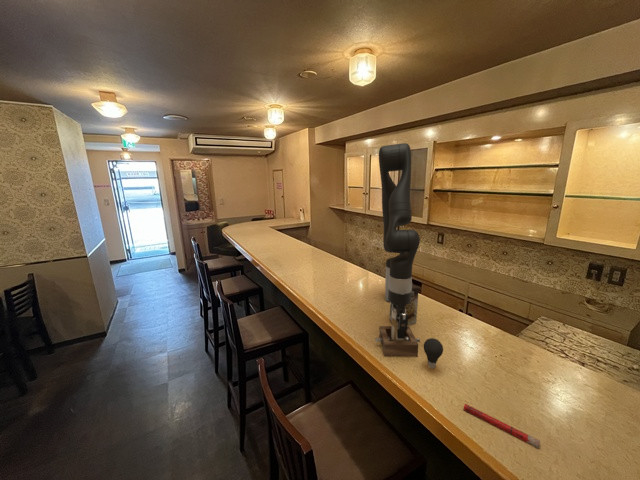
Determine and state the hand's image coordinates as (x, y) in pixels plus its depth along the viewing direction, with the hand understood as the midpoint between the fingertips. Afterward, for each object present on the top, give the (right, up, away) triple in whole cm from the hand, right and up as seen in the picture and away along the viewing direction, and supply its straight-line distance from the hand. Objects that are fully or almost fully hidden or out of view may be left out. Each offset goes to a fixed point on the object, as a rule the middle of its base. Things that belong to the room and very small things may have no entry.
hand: (397, 331), depth 91 cm
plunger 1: (-5, -5, +1) cm, 7 cm away
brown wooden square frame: (0, -6, +1) cm, 6 cm away
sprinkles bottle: (0, -6, +2) cm, 6 cm away
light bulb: (+8, -8, -9) cm, 15 cm away
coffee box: (+7, -2, +17) cm, 18 cm away
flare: (+16, -13, -28) cm, 35 cm away
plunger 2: (+5, -5, +1) cm, 7 cm away
